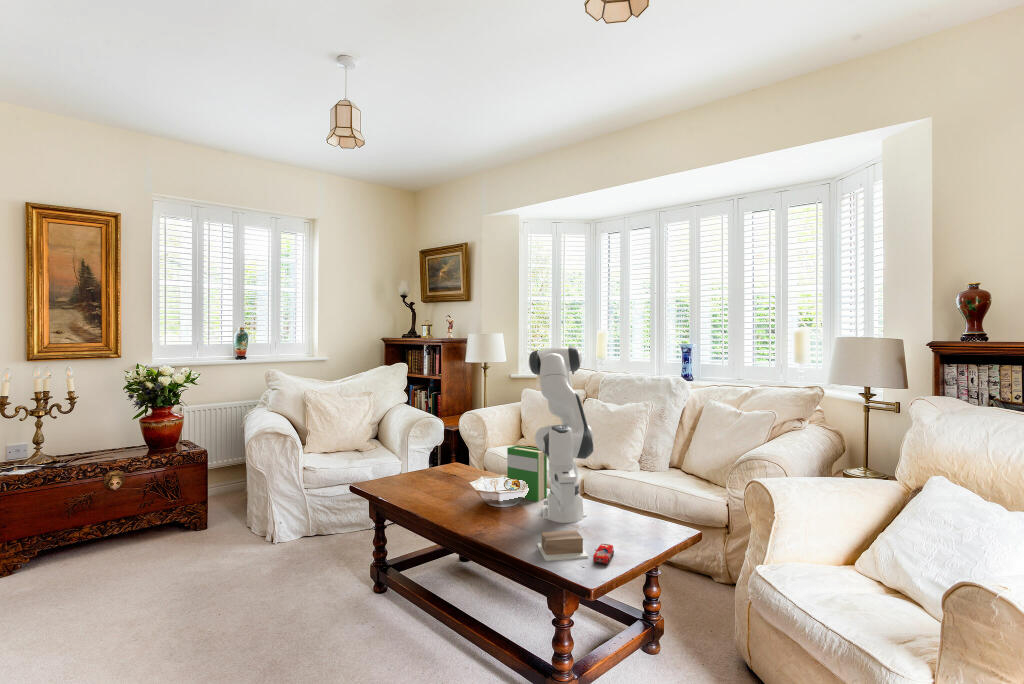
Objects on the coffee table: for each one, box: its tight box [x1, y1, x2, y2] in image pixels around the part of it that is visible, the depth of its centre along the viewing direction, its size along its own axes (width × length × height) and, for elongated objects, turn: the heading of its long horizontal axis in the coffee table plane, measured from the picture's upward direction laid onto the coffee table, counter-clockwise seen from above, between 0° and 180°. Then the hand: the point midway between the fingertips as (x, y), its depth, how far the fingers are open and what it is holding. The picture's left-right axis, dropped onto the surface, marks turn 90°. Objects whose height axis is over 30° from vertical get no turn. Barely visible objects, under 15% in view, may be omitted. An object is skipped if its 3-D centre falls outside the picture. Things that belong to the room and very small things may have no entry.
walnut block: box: [540, 529, 584, 555], centre depth 189 cm, size 8×13×5 cm, turn 99°
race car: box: [592, 543, 615, 565], centre depth 183 cm, size 13×5×4 cm, turn 156°
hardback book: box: [506, 444, 548, 503], centre depth 252 cm, size 18×7×24 cm, turn 51°
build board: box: [536, 542, 589, 562], centre depth 189 cm, size 14×15×1 cm
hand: (561, 511), depth 189 cm, fingers closed
